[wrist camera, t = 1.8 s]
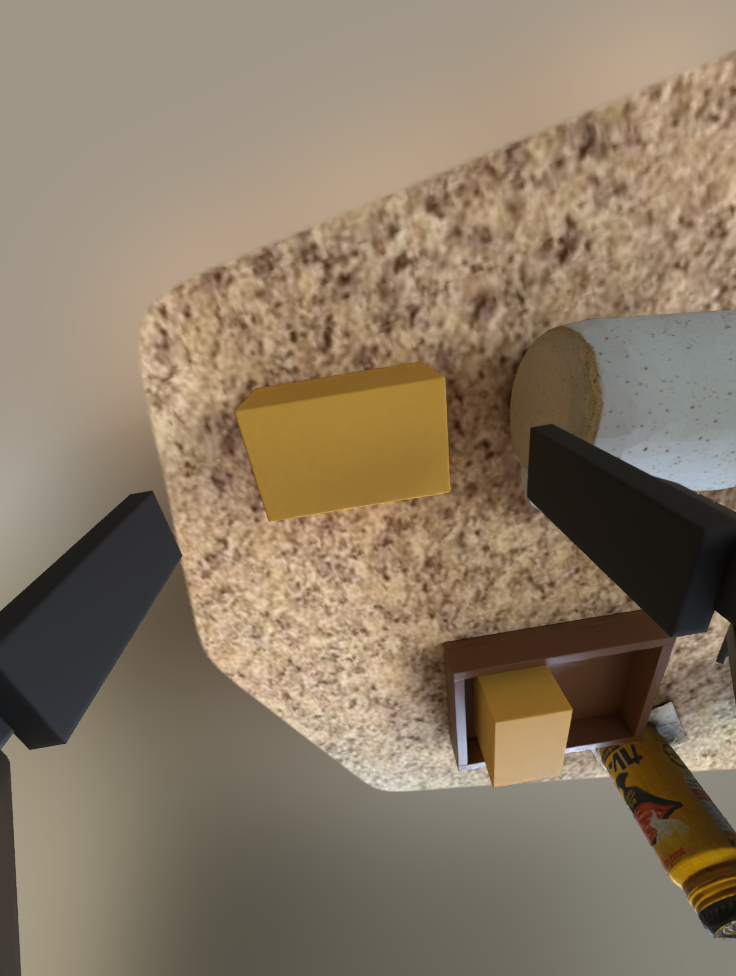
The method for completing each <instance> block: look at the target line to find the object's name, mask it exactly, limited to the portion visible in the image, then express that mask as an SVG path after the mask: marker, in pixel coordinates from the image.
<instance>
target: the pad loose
mask: <svg viewBox="0 0 736 976" xmlns="http://www.w3.org/2000/svg"><path fill="white" fill-rule="evenodd" d="M234 413H235V416H236V420H237V423H238V426H239V429H240V432H241V435H242V439H243V442H244V445H245V448H246V451H247V454H248V457H249V461H250V464H251V467H252V470H253V473H254V476H255V480H256V483H257V486H258V489H259V492H260V495H261V499H262V502H263V505H264V508H265V511H266V514H267V517H268V520H269V522H273V521H279V520H285V519H291V518H297V517H303V516H309V515H315V514H321V513H327V512H333V511H339V510H345V509H351V508H358V507H364V506H370V505H376V504H382V503H388V502H394V501H400V500H406V499H412V498H418V497H424V496H430V495H436V494H443V493H449V492H450V469H449V448H448V427H447V406H446V385H445V377H444V376H442V375H441V374H439V373H438V372H436V371H435V370H433V369H432V368H431V367H429V366H428V365H426V364H425V363H423V362H415V363H409V364H403V365H397V366H391V367H384V368H378V369H372V370H366V371H360V372H354V373H348V374H342V375H336V376H329V377H323V378H317V379H311V380H305V381H299V382H293V383H287V384H281V385H274V386H268V387H262V388H257V389H255V390H254V391H253V392H252V394H251V395H250V396H249V397H248V398H247V399H246V400H245V401H244V402H243V403H242V404H241V405H240V406H239V407H238V408H237V409H236V410H235V411H234Z"/></svg>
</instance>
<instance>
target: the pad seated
mask: <svg viewBox="0 0 736 976" xmlns="http://www.w3.org/2000/svg"><path fill="white" fill-rule="evenodd" d="M473 696H474V730H475V733H476V736H477V739H478V742H479V745H480V748H481V751H482V754H483V758H484V761H485V764H486V767H487V770H488V773H489V776H490V779H491V782H492V785H493V787H494V788H496V787H502V786H508V785H514V784H520V783H526V782H532V781H538V780H544V779H550V778H556V777H560V776H561V772H562V766H563V761H564V755H565V750H566V744H567V739H568V733H569V727H570V722H571V716H572V711H573V710H572V708H571V706H570V704H569V702H568V701H567V699H566V697H565V696H564V694H563V692H562V690H561V689H560V687H559V685H558V684H557V682H556V680H555V678H554V677H553V675H552V673H551V672H550V670H549V668H548V666H547V665H545V666H539V667H533V668H527V669H521V670H515V671H509V672H503V673H497V674H491V675H485V676H479V677H473Z"/></svg>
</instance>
